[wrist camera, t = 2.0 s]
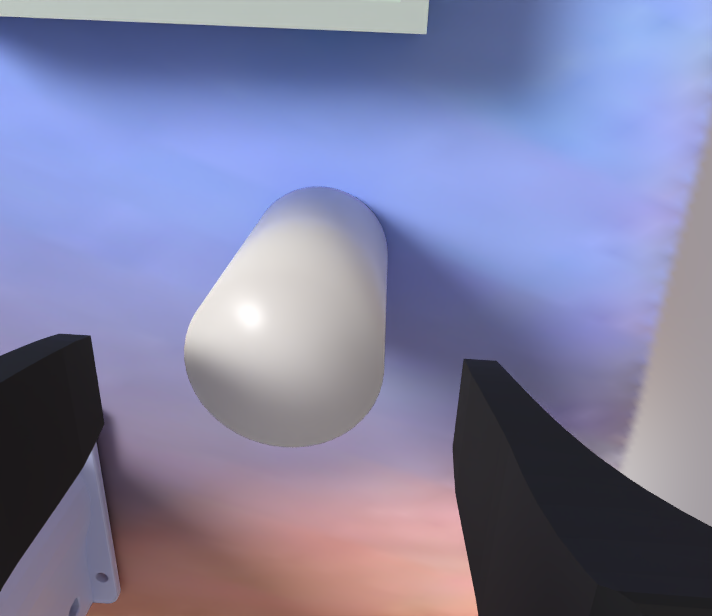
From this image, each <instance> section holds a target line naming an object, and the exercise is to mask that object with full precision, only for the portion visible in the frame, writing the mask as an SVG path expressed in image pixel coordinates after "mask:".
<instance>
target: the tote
mask: <svg viewBox="0 0 712 616" xmlns="http://www.w3.org/2000/svg"><path fill="white" fill-rule="evenodd" d="M428 8H429V0H0V16H5V17H29V18H53V19H77V20H100V21H124V22H148V23H172V24H195V25H219V26H243V27H267V28H291V29H314V30H338V31H362V32H386V33H409V34H427V21H428Z"/></svg>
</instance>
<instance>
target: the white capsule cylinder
mask: <svg viewBox="0 0 712 616" xmlns="http://www.w3.org/2000/svg"><path fill="white" fill-rule="evenodd" d="M387 264H388V248H387V241H386V237H385V234H384V231H383V228H382V226H381V224H380V222H379V221H378V219H377V217H376V216H375V215H374V213H373V212H372V211H371V210H370V209H369V208H368V207H367V206H366V205H365V204H364V203H363V202H361V201H360V200H359V199H357V198H356V197H354V196H352V195H350V194H348V193H346V192H344V191H341V190H338V189H334V188H329V187H306V188H301V189H298V190H294V191H292V192H290V193H287V194H285V195H284V196H282V197H281V198H279V199H278V200H276V201H275V202H274V203H273V204H272V205H271V206H270V207H269V208H268V209H267V210H266V211H265V213H264V214H263V216H262V217H261V219H260V220H259V222H258V223H257V224H256V226H255V227H254V229H253V230H252V232H251V233H250V235H249V236H248V237H247V239H246V240H245V242H244V243H243V245H242V246H241V248H240V249H239V250H238V252H237V253H236V255H235V256H234V258H233V259H232V261H231V262H230V264H229V265H228V266H227V268H226V269H225V271H224V272H223V274H222V275H221V277H220V278H219V279H218V281H217V282H216V284H215V285H214V287H213V288H212V290H211V291H210V292H209V294H208V295H207V297H206V298H205V300H204V301H203V303H202V304H201V305H200V307H199V308H198V310H197V311H196V313H195V314H194V316H193V318H192V320H191V322H190V325H189V328H188V331H187V334H186V339H185V346H184V359H185V366H186V371H187V374H188V378H189V381H190V383H191V385H192V388H193V390H194V392H195V394H196V395H197V397H198V398H199V400H200V401H201V403H202V404H203V405H204V407H205V408H206V409H207V410H208V411H209V412H210V413H211V414H212V415H213V416H214V417H215V418H216V419H217V420H218V421H219V422H221V423H222V424H223V425H225V426H226V427H227V428H229V429H231V430H232V431H234V432H235V433H237V434H239V435H241V436H243V437H246V438H248V439H250V440H253V441H256V442H259V443H263V444H267V445H271V446H279V447H306V446H312V445H317V444H321V443H324V442H327V441H330V440H333V439H335V438H337V437H339V436H341V435H343V434H345V433H346V432H348V431H349V430H351V429H352V428H353V427H355V426H356V425H357V424H358V423H359V422H360V421H361V420H362V419H363V418H364V417H365V416H366V415H367V414H368V413H369V411H370V410H371V408H372V406H373V405H374V403H375V401H376V399H377V397H378V395H379V393H380V389H381V386H382V382H383V375H384V357H385V326H386V295H387Z"/></svg>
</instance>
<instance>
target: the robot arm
mask: <svg viewBox="0 0 712 616" xmlns="http://www.w3.org/2000/svg"><path fill="white" fill-rule="evenodd" d="M103 426H104V418H103V412H102V405H101V399H100V393H99V386H98V380H97V374H96V367H95V361H94V355H93V348H92V342H91V336H88V335H72V334H57V335H54V336H50V337H47V338H44V339H41V340H38V341H36V342H33V343H31V344H28V345H25V346H23V347H21V348H18V349H16V350H13V351H11V352H8V353H6V354H4V355H1V356H0V616H86V614H87V612H88V610H89V609H90V607H91V605H92V603H106V604H107V603H113V602H115V601H116V600H117V599H118V597H119V595H120V592H121V588H120V582H119V576H118V570H117V564H116V558H115V551H114V545H113V539H112V533H111V527H110V521H109V515H108V509H107V503H106V497H105V491H104V485H103V479H102V473H101V467H100V461H99V455H98V448H97V442H96V441H97V439H98V437H99V434H100V432H101V430H102V428H103ZM453 463H454V479H455V493H456V499H457V504H458V509H459V515H460V520H461V525H462V530H463V535H464V540H465V546H466V551H467V556H468V561H469V566H470V571H471V576H472V581H473V586H474V591H475V596H476V603H477V609H478V616H712V527H711V526H709V525H707V524H705V523H703V522H701V521H700V520H698V519H696V518H694V517H692V516H690V515H688V514H686V513H685V512H683V511H681V510H679V509H678V508H676V507H674V506H673V505H671V504H669V503H667V502H666V501H664V500H662V499H661V498H659V497H657V496H656V495H654V494H652V493H651V492H649V491H647V490H646V489H644V488H642V487H641V486H640V485H638V484H636V483H635V482H633V481H632V480H630V479H629V478H627V477H626V476H625V475H623V474H622V473H620V472H619V471H618V470H616V469H615V468H613V467H612V466H611V465H609V464H608V463H606V462H605V461H603V460H602V459H601V458H599V457H598V456H597V455H596V454H594V453H593V452H592V451H590V450H589V449H588V448H587V447H585V446H584V445H583V444H582V443H581V442H579V441H578V440H577V439H576V438H575V437H574V436H572V435H571V434H570V433H569V432H568V431H566V430H565V429H564V428H563V427H562V426H561V425H560V424H559V423H558V422H556V421H555V420H554V419H553V418H552V417H551V416H550V415H549V414H548V413H547V412H546V411H545V410H544V409H543V408H542V407H541V406H540V405H539V404H538V403H537V402H536V401H535V400H534V399H533V398H532V397H531V396H530V395H529V394H528V393H527V392H526V391H525V390H524V389H523V388H522V387H521V386H520V385H519V384H518V383H517V382H516V381H515V380H514V379H513V378H512V377H511V376H510V374H509V373H508V372H507V371H506V370H505V369H504V368H503V367H502V366H501V365H500V364H499V363H498V362H497V361H489V360H473V359H464V361H463V369H462V377H461V385H460V393H459V401H458V409H457V417H456V425H455V433H454V441H453ZM103 573H104V574H103Z"/></svg>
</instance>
